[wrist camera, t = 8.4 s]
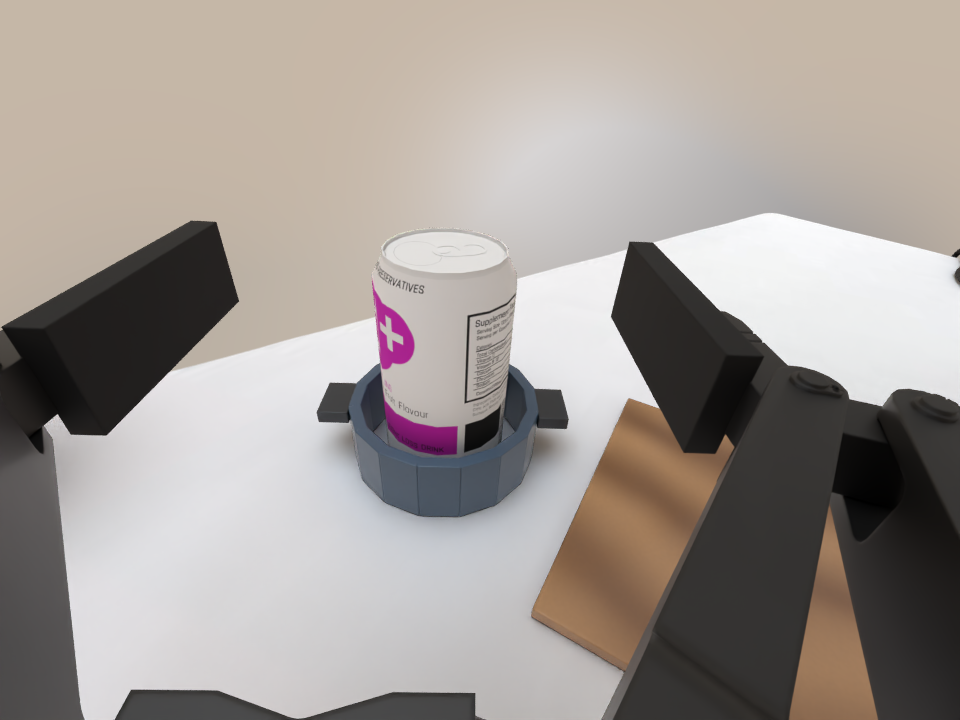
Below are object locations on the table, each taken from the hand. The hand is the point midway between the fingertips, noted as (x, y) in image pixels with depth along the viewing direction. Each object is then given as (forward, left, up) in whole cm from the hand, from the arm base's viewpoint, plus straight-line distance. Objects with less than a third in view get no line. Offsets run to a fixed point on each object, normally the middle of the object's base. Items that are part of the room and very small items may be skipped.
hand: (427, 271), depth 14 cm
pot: (-8, -5, -18) cm, 20 cm away
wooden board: (-10, +13, -18) cm, 24 cm away
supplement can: (-8, -5, -18) cm, 20 cm away
